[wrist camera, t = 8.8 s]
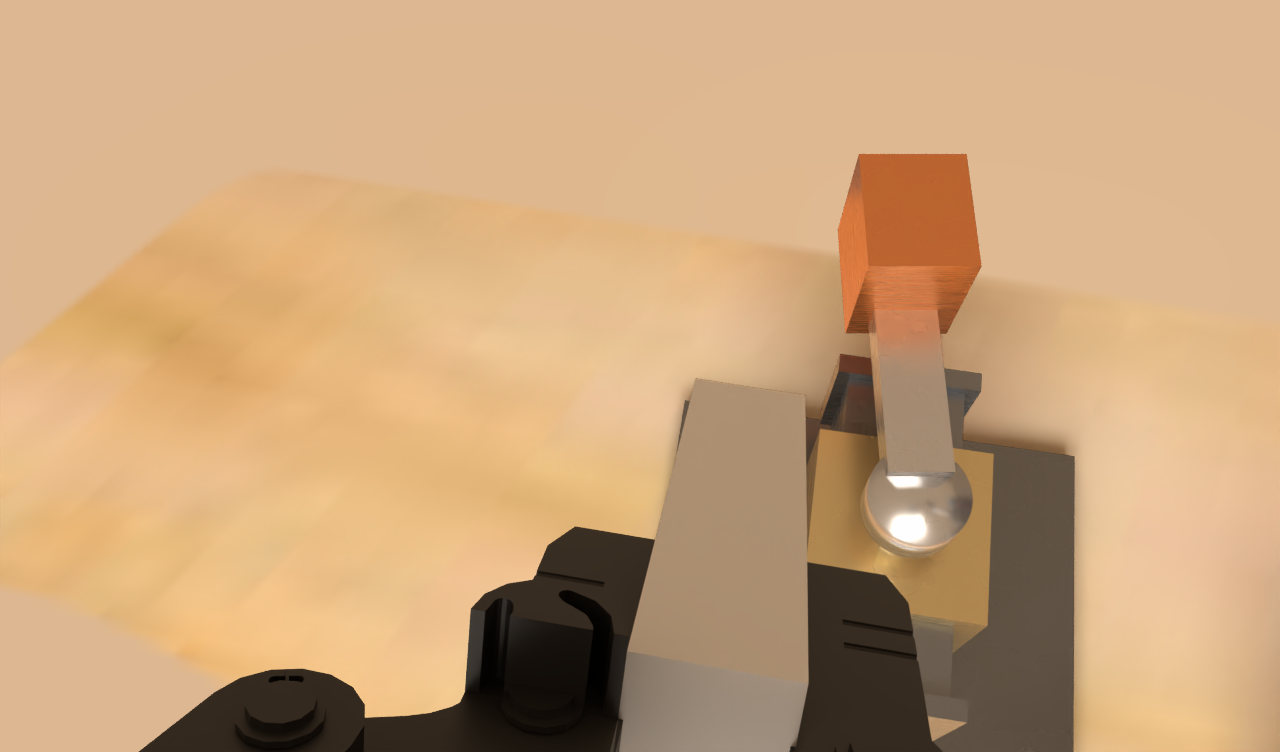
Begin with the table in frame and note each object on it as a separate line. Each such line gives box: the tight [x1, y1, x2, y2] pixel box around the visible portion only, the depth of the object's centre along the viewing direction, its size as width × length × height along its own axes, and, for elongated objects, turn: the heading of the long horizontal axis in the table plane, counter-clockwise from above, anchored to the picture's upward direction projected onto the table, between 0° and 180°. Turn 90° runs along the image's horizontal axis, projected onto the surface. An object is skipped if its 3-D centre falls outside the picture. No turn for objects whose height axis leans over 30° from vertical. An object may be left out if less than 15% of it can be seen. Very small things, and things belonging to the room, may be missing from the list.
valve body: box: [676, 354, 1075, 752], centre depth 36 cm, size 14×11×8 cm
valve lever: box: [838, 154, 981, 559], centre depth 32 cm, size 10×3×4 cm, turn 0°
